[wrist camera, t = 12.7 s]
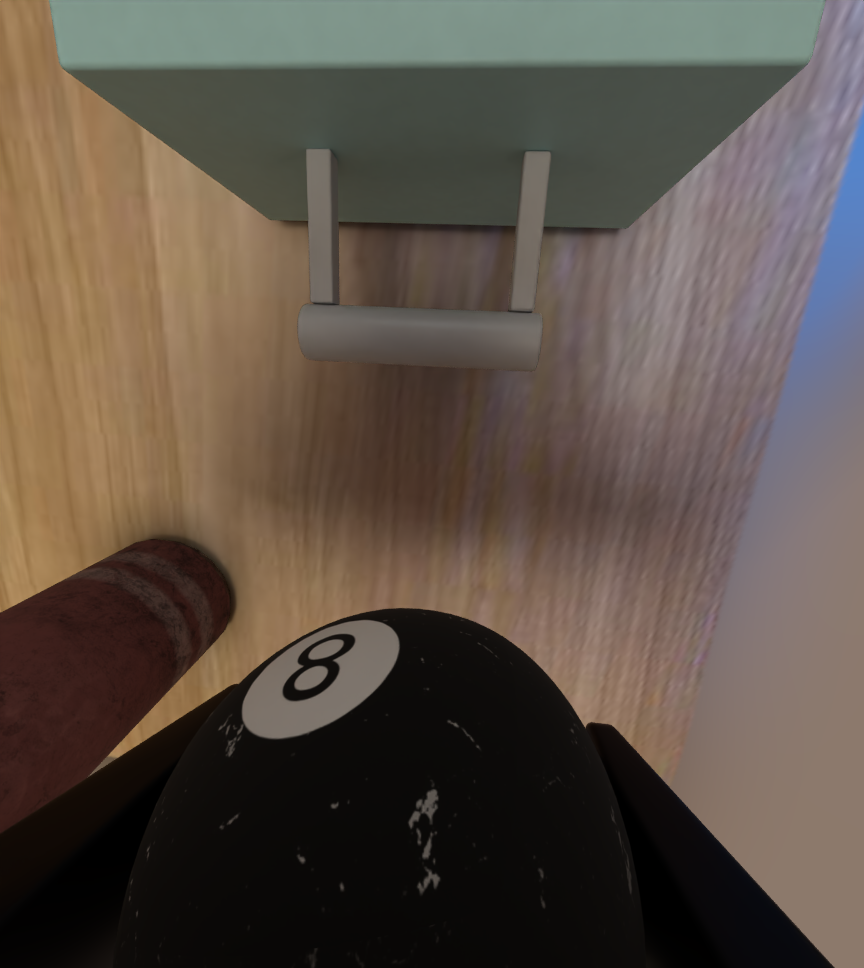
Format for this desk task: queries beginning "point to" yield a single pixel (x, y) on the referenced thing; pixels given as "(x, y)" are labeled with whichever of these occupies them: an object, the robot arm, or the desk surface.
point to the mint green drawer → (438, 124)
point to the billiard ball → (387, 816)
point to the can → (97, 663)
